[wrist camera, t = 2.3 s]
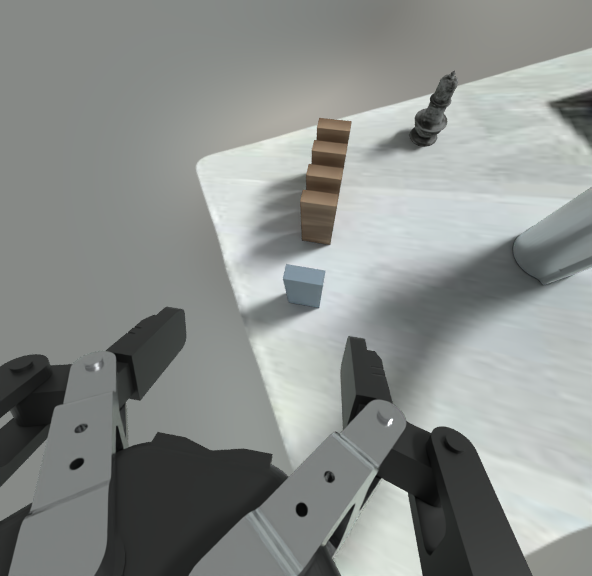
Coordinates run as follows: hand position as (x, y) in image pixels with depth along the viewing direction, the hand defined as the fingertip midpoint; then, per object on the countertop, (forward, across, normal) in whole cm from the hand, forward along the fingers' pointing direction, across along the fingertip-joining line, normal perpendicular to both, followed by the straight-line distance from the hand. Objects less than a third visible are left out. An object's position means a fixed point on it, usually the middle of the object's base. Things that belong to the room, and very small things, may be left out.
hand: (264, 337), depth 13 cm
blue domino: (+28, +1, -12) cm, 31 cm away
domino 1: (+45, +2, +6) cm, 46 cm away
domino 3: (+39, +2, -1) cm, 39 cm away
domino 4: (+36, +2, -4) cm, 36 cm away
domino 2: (+42, +2, +3) cm, 42 cm away
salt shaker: (+53, +19, +15) cm, 59 cm away
